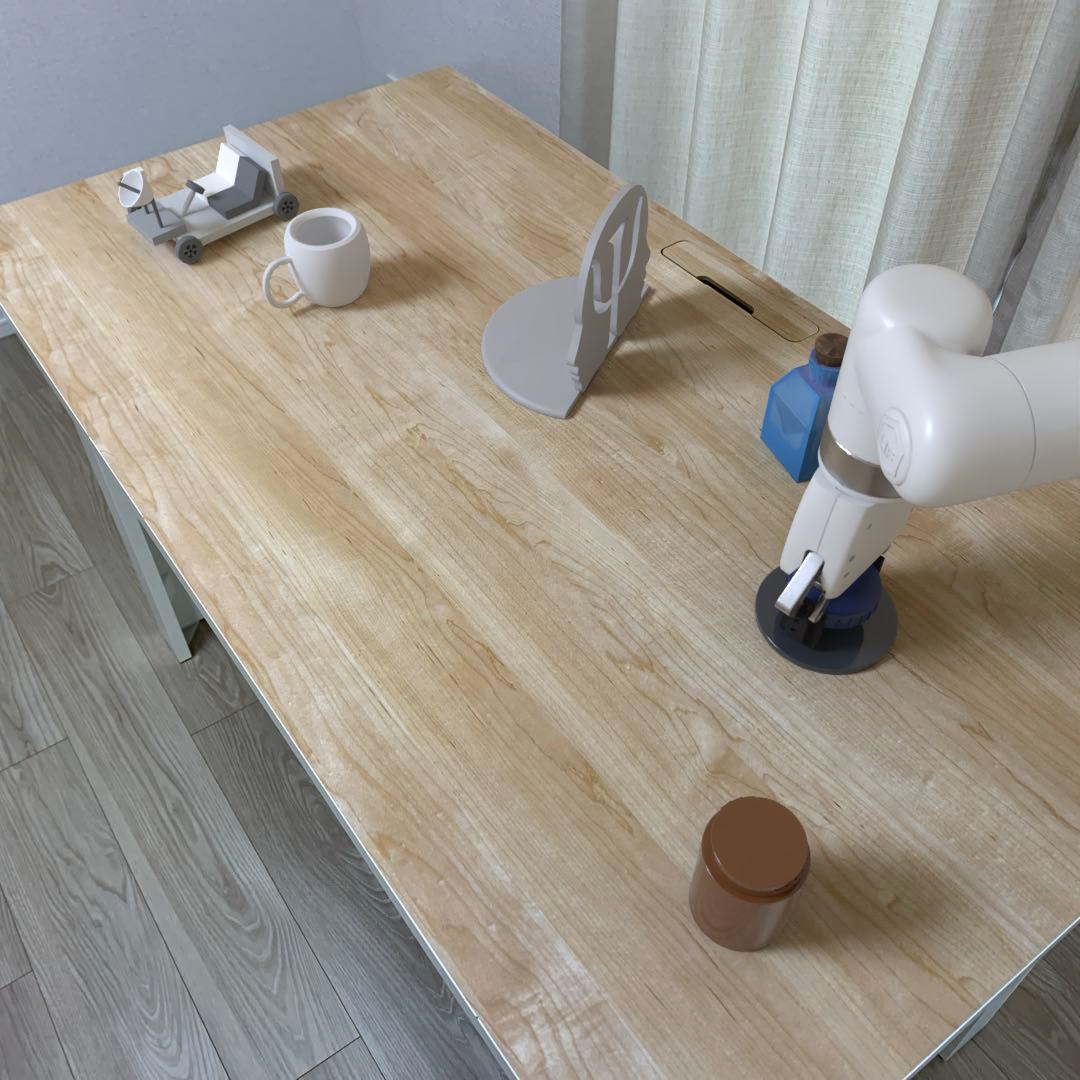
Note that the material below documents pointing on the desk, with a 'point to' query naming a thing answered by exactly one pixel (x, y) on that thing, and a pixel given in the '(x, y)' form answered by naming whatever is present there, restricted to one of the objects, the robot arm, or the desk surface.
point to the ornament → (572, 314)
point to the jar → (749, 873)
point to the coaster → (827, 634)
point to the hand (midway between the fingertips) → (826, 606)
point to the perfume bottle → (803, 407)
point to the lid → (851, 600)
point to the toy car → (210, 199)
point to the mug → (324, 258)
